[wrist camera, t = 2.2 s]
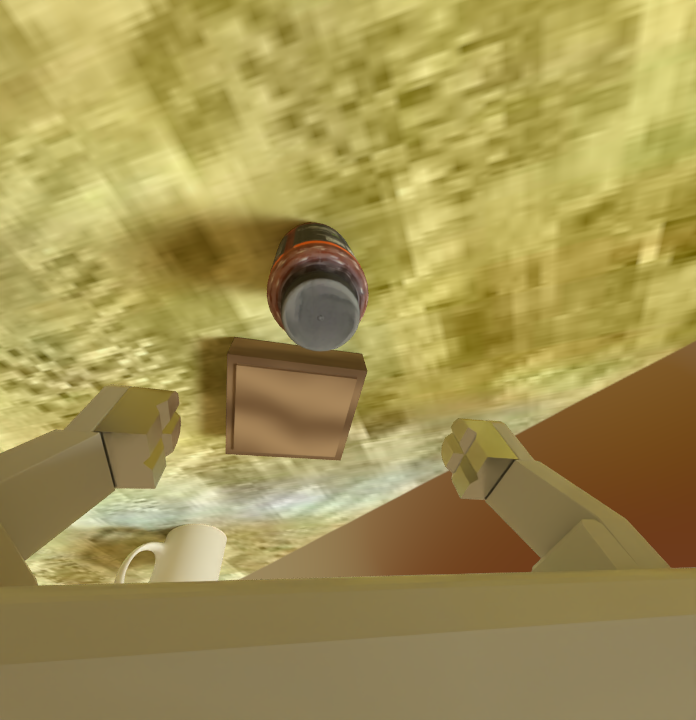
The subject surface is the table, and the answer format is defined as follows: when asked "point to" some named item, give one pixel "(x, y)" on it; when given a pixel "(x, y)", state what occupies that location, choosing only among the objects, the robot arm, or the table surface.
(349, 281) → the supplement bottle
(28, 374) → the table surface
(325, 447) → the brown box
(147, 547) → the mug
